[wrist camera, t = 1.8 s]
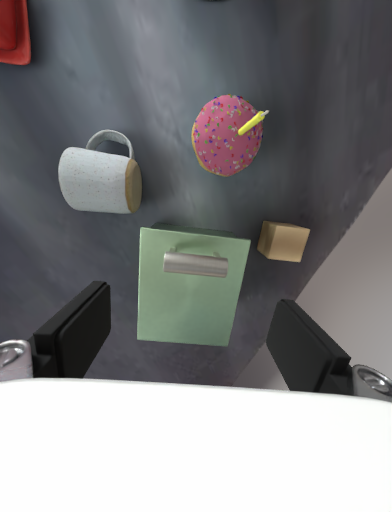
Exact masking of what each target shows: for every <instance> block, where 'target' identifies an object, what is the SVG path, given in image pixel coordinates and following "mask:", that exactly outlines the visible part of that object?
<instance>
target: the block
mask: <svg viewBox="0 0 392 512" xmlns="http://www.w3.org/2000/svg"><path fill="white" fill-rule="evenodd" d="M309 232H310V229H307V228H303V227H300V226H296V225H293V224H286V223H278V222H270V221H263V225H262V229H261V233H260V237H259V241H258V246H257V250H258V251H259V252H261V253H262V254H263V255H264V256H265V257H267V258H268V259H275V260H285V261H294V262H300V260H301V257H302V254H303V251H304V248H305V245H306V241H307V238H308V235H309Z"/></svg>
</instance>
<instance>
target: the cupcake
mask: <svg viewBox="0 0 392 512" xmlns="http://www.w3.org/2000/svg"><path fill="white" fill-rule="evenodd" d="M241 98H242V97H239V96H231V95H230V94H228V95H222V96H218V97H215V98H214V99H213V100H212V101H210V102H209V103H207V104H206V105H205V106H204V107H203V108H202V110H201V112H200V114H199V115H198V117H197V119H196V121H195V123H194V125H193V129H192V145H193V148H194V151H195V154H196V156H197V159H198V162H199V164H200V165H201V166H202V167H203V168H204V169H205V170H207V171H209V172H211V173H214V174H217V175H221V176H226V177H228V176H231V175H233V174H235V173H237V172H239V171H241V170H242V169H244V168H246V167H248V166H249V164H250V163H251V162H252V161H253V159H254V158H255V156H256V154H257V152H258V150H259V147H260V145H261V139H262V138H263V135H262V132H263V131H262V129H263V128H262V127H263V126H262V123H263V119H264V117H265V115H266V114H267V113H269V110H267V111H265V112H262V111H261V112H259V113H258V111H256V110H255V109H254V108H253V106H251V105H250V104H249V101H245V100H243V98H242V99H241ZM261 121H262V123H261Z"/></svg>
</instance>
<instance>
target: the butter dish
mask: <svg viewBox="0 0 392 512" xmlns="http://www.w3.org/2000/svg"><path fill="white" fill-rule="evenodd" d="M30 60H31V43H30V34H29V23H28V13H27V2H26V0H0V62H3V63H8V64H15V65H27V64H29V63H30Z"/></svg>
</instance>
